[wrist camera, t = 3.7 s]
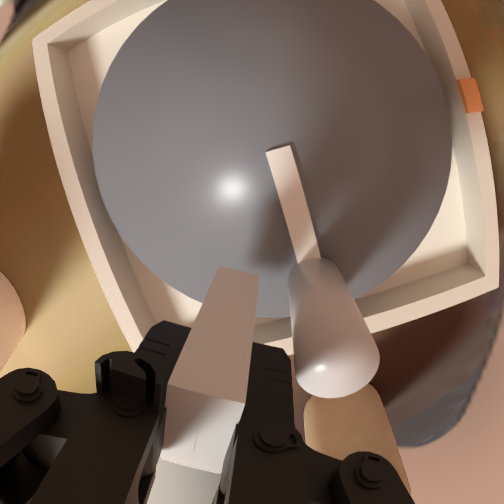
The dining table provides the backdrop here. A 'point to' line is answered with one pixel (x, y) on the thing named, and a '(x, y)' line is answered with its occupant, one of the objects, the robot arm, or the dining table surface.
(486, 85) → the dining table surface
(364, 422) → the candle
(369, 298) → the dial plate
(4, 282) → the cup
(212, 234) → the dial
